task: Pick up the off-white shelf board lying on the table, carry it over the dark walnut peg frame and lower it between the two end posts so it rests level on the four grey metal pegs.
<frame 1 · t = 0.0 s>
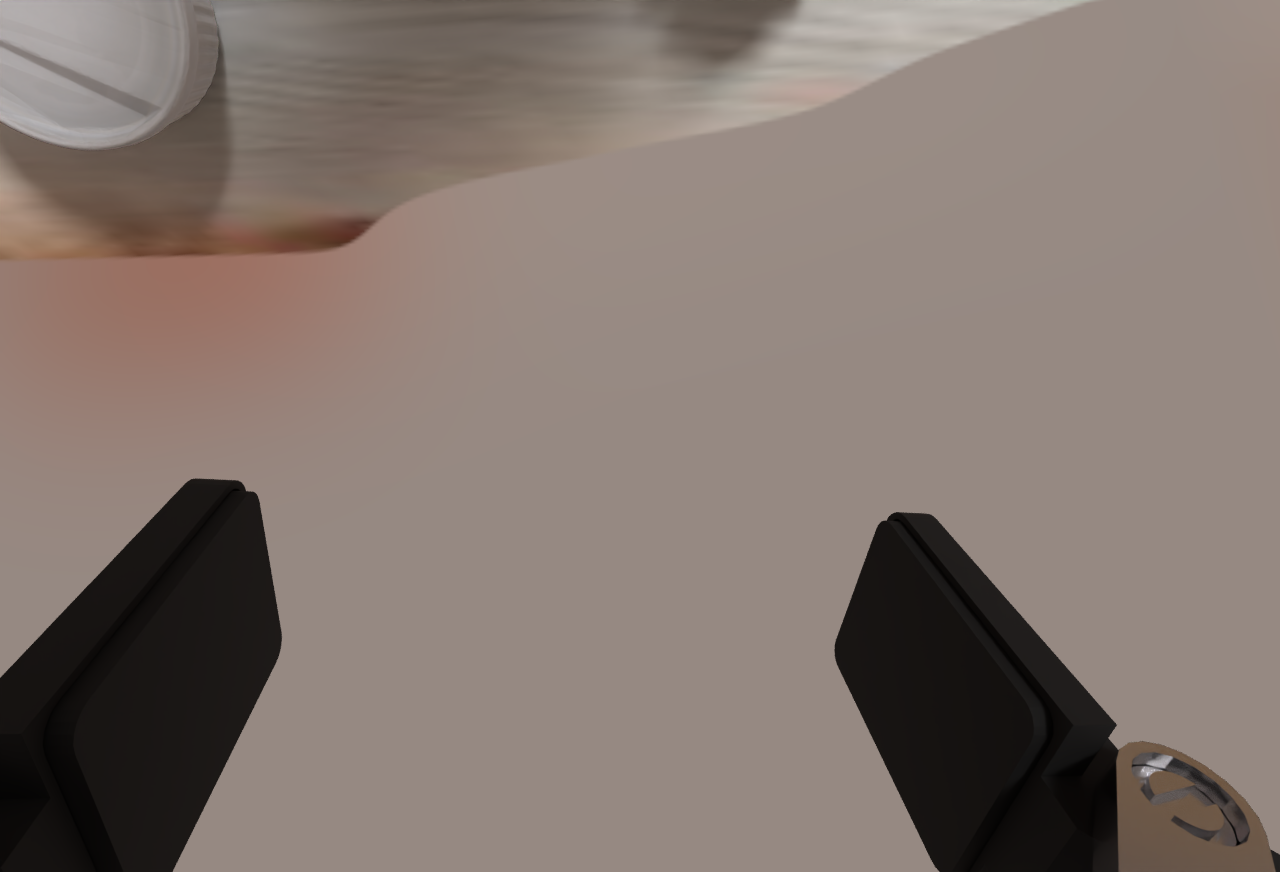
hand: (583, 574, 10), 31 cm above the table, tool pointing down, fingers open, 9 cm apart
ramekin: (117, 14, 31), on the table
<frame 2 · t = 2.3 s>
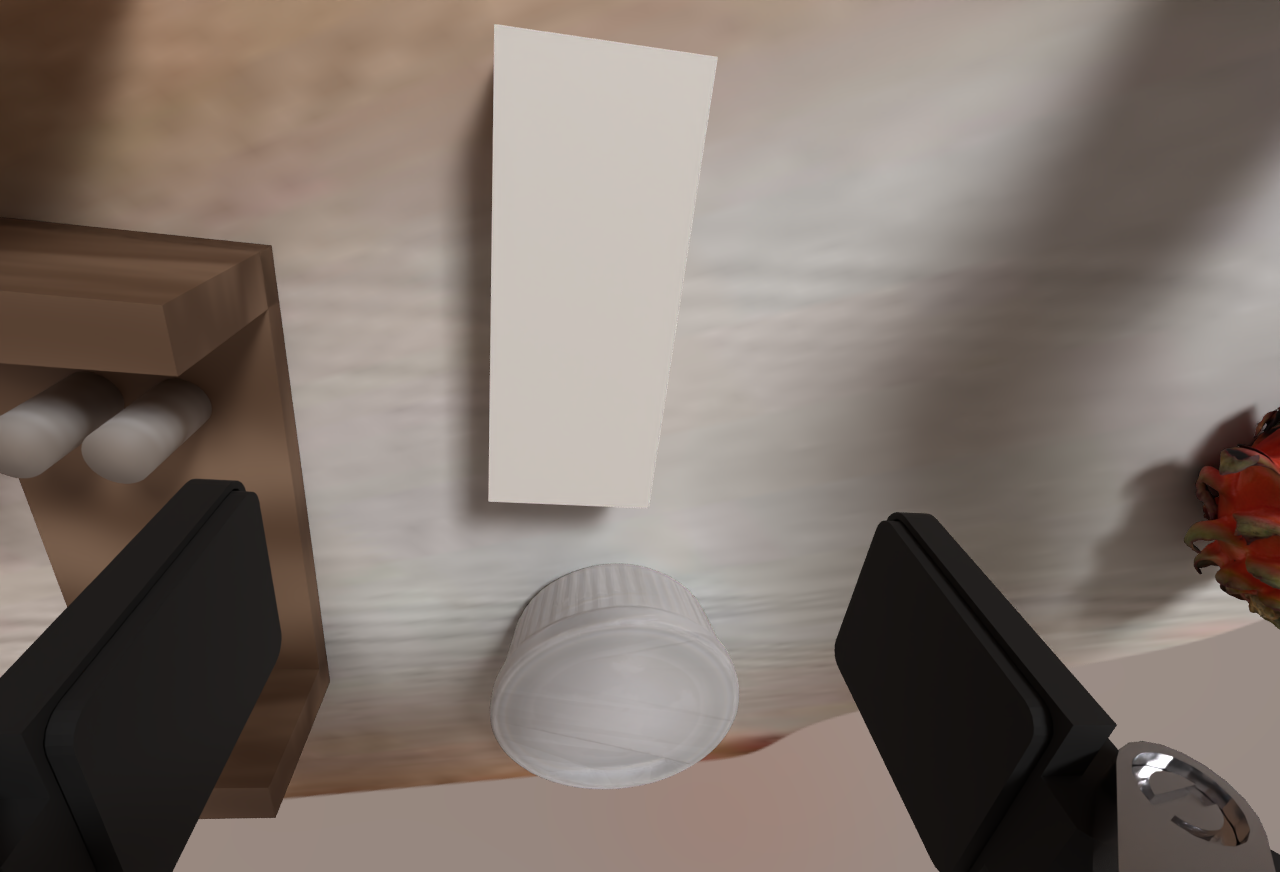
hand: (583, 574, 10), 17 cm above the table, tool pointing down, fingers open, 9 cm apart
peg frame: (179, 497, 27), on the table
ramekin: (610, 625, 33), on the table
shelf board: (583, 275, 25), on the table
dragon fruit: (1234, 464, 32), on the table
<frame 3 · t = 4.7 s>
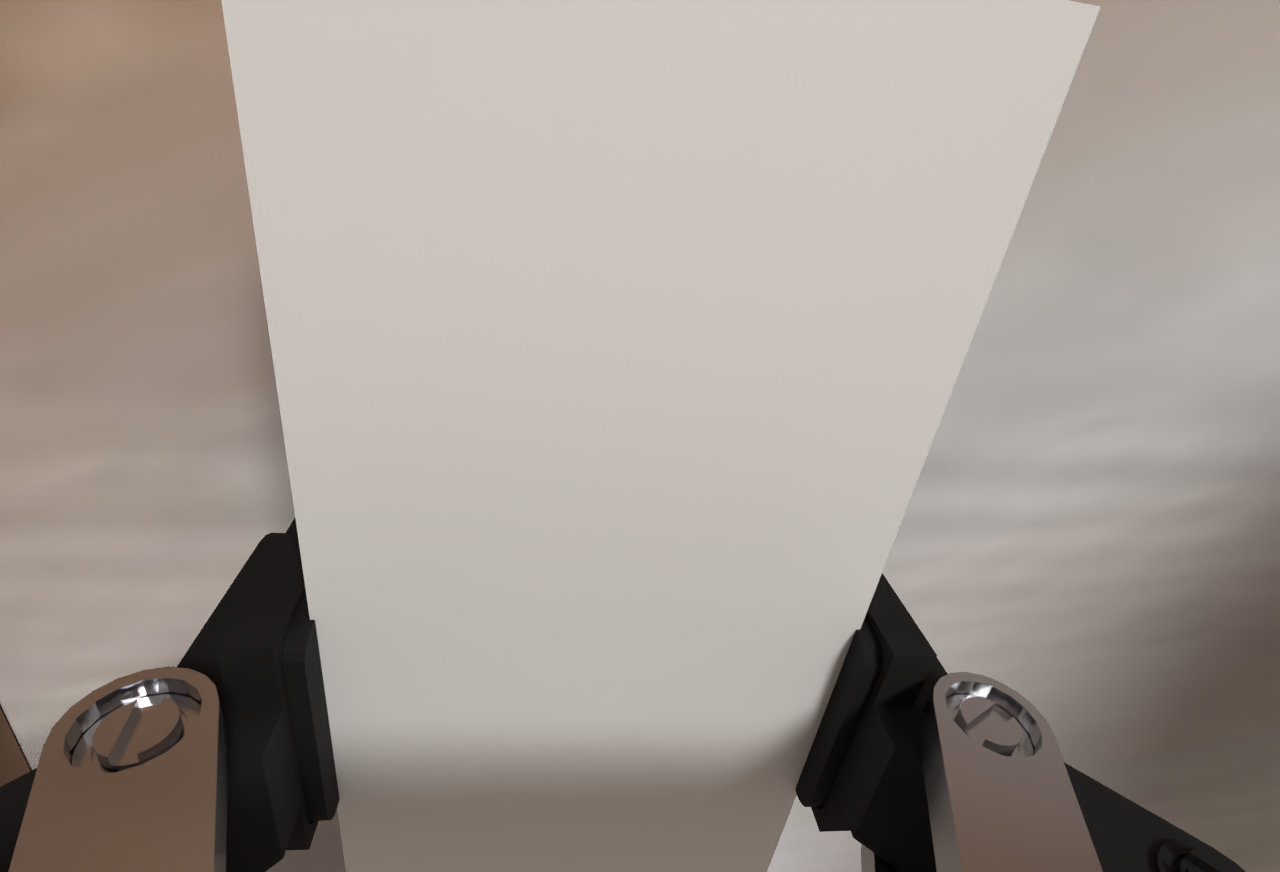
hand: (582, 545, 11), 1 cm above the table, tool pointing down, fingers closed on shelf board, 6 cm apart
shelf board: (580, 499, 12), on the table, touching gripper
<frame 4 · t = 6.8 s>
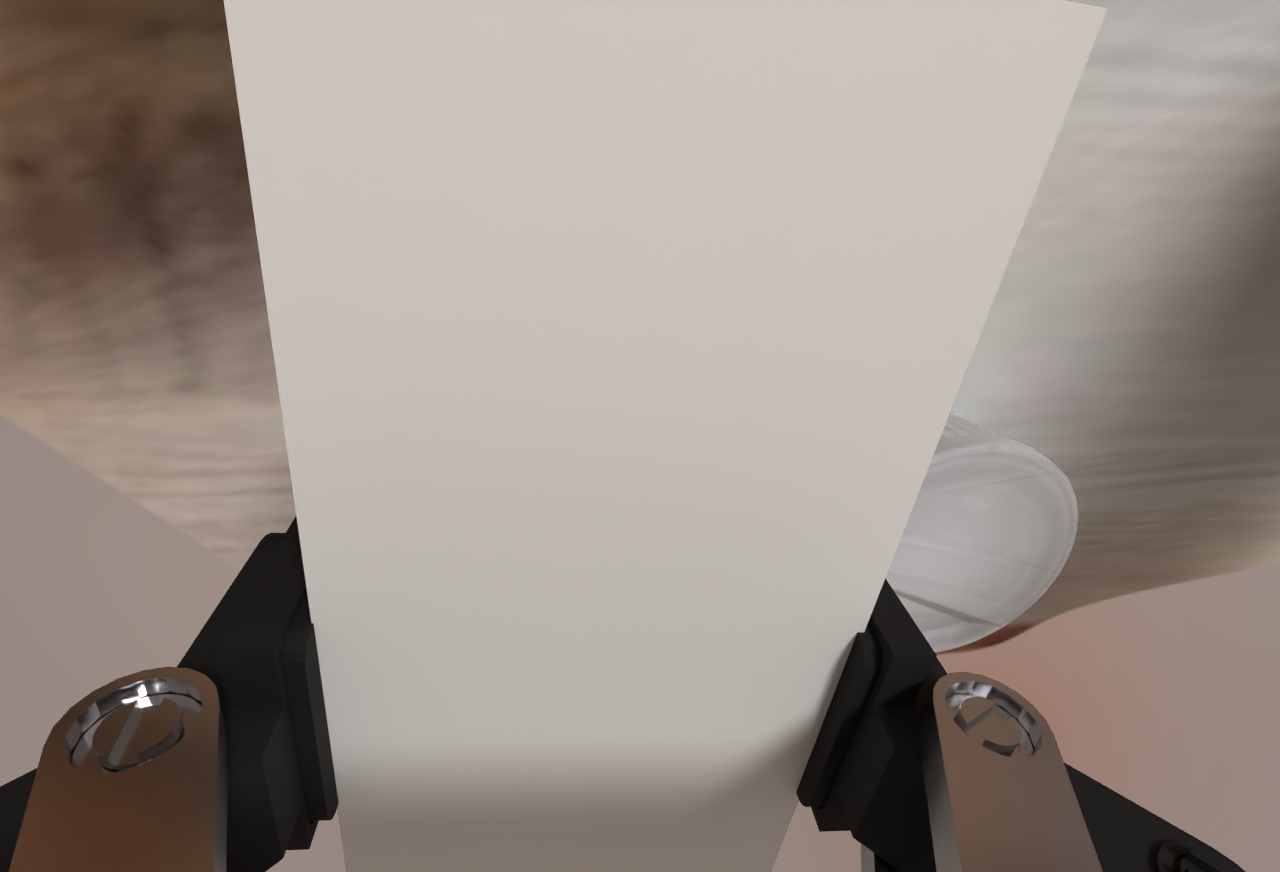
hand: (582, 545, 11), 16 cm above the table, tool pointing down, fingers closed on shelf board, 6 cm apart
ramekin: (890, 491, 32), on the table
shelf board: (582, 502, 12), point 15 cm above the table, touching gripper
when the fingers open (7 cm above the table, at t = 9.2 s): shelf board drops 1 cm, resting on peg frame.
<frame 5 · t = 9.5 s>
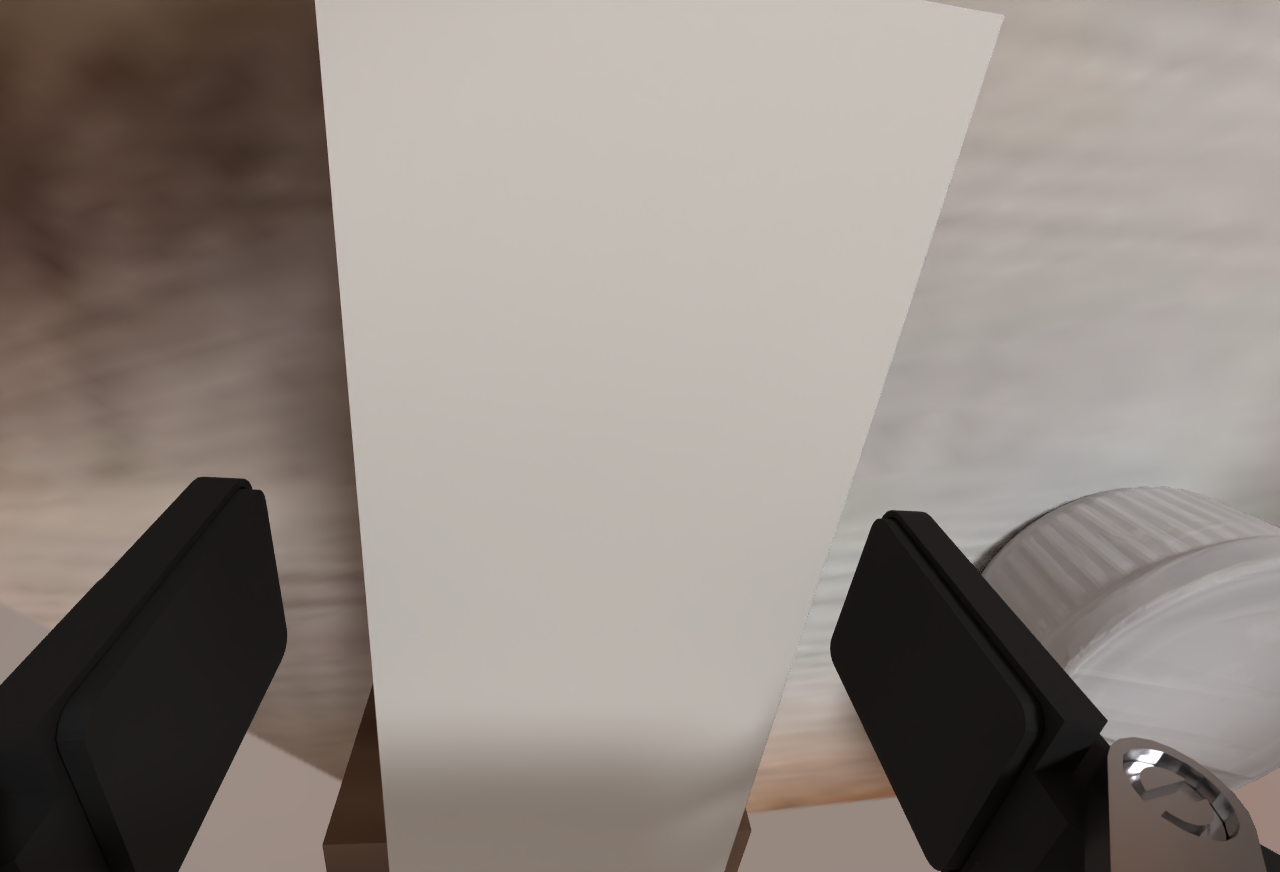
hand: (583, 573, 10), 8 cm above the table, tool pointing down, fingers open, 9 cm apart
peg frame: (573, 370, 17), on the table
ramekin: (1076, 584, 24), on the table
shelf board: (586, 458, 13), point 5 cm above the table, touching peg frame
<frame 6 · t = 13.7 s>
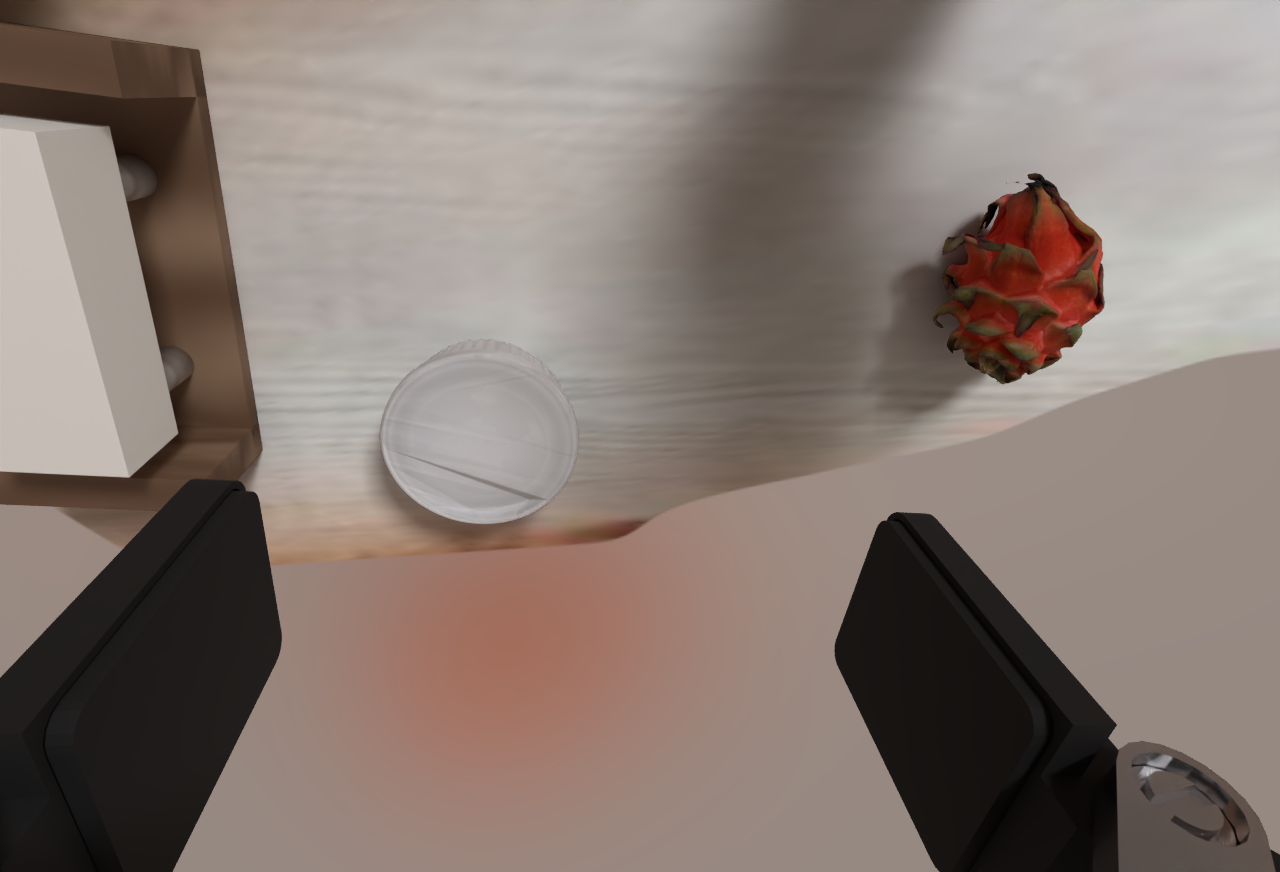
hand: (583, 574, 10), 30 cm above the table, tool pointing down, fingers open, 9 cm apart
peg frame: (135, 268, 35), on the table
ramekin: (489, 405, 42), on the table
shelf board: (78, 290, 31), point 5 cm above the table, touching peg frame
dragon fruit: (979, 268, 41), on the table
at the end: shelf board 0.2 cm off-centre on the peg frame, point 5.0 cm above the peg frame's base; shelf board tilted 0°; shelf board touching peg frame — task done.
